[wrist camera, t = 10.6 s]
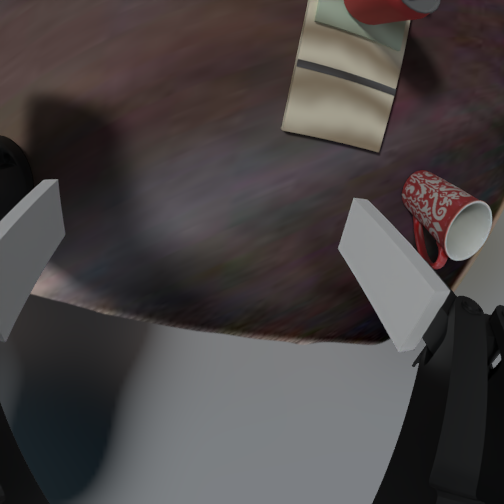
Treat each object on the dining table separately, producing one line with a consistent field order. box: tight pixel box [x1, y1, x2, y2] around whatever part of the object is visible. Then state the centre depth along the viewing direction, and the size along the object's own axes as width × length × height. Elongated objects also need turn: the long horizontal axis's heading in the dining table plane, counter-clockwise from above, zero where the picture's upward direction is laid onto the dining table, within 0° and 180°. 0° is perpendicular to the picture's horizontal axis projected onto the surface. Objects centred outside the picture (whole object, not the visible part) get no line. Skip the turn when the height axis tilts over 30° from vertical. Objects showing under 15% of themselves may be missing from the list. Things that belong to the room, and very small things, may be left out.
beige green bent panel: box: [281, 0, 410, 152], centre depth 30 cm, size 26×14×4 cm, turn 170°
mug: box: [402, 170, 492, 269], centre depth 40 cm, size 13×9×14 cm
